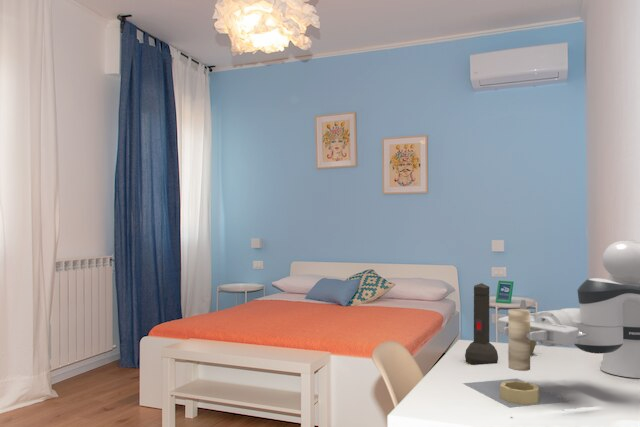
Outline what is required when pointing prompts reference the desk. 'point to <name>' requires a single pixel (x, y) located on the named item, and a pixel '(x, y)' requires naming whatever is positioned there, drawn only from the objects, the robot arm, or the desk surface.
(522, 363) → the ash peg
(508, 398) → the socket board
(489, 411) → the desk surface
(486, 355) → the flashlight
